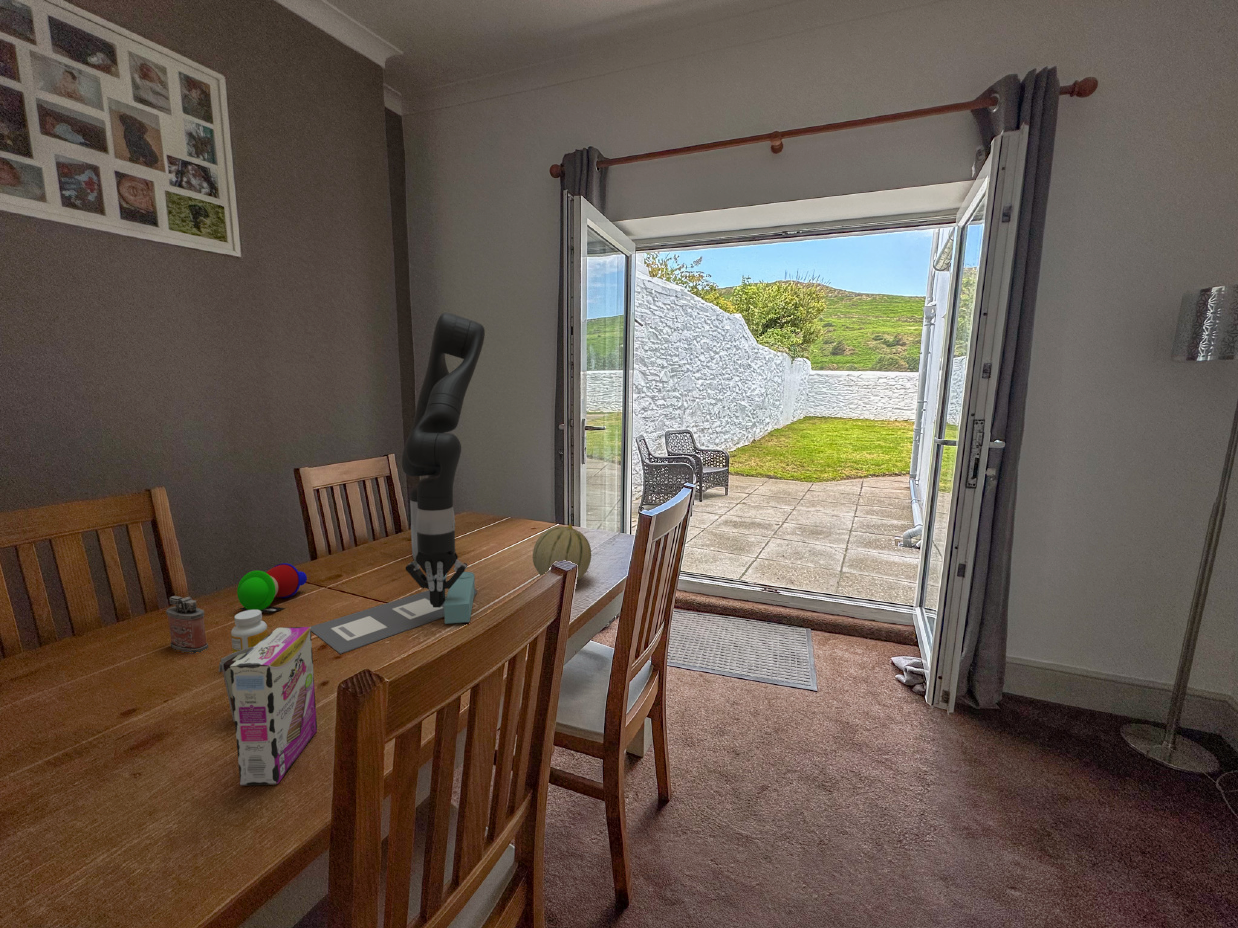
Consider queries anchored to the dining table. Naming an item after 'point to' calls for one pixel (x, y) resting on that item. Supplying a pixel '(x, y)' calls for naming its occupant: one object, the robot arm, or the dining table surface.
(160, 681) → the dining table surface
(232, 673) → the candy bar box
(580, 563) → the cantaloupe
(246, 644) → the supplement bottle
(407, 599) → the label panel
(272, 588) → the toy figure
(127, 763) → the dining table surface
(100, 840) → the dining table surface
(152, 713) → the dining table surface
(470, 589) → the block
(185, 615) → the lighter
